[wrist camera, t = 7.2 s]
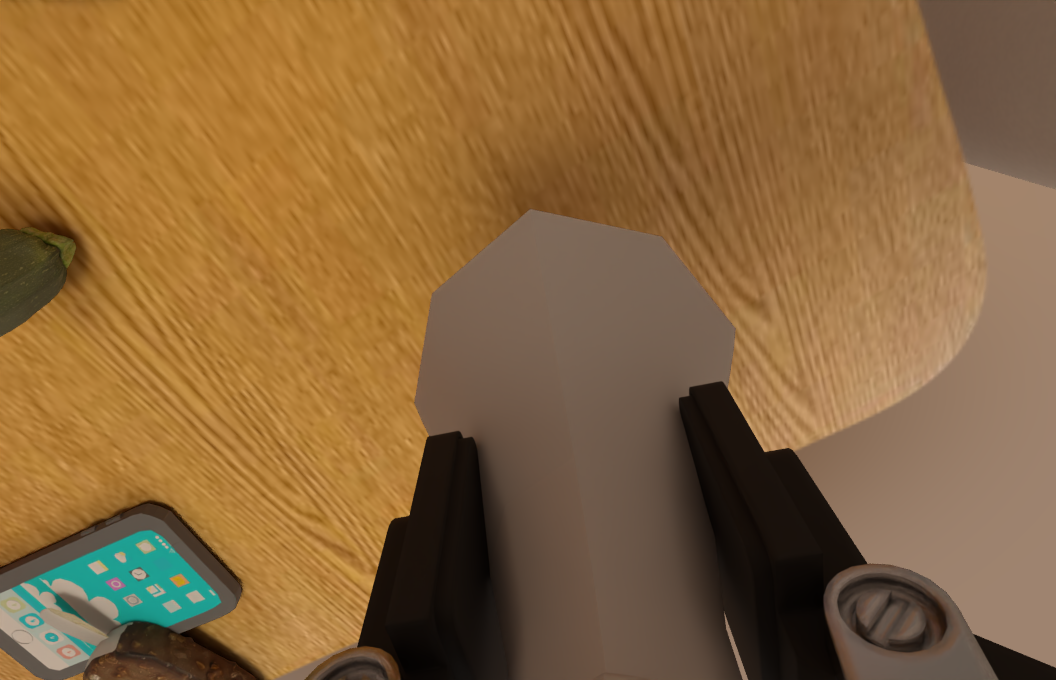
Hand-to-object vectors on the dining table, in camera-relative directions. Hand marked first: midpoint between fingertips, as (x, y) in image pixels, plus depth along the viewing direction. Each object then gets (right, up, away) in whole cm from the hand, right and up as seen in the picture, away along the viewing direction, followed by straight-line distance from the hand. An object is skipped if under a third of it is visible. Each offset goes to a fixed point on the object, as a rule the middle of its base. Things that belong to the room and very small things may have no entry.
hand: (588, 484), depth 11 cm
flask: (0, +2, +4) cm, 5 cm away
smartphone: (-26, -12, +27) cm, 39 cm away
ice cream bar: (-28, -12, +24) cm, 39 cm away
